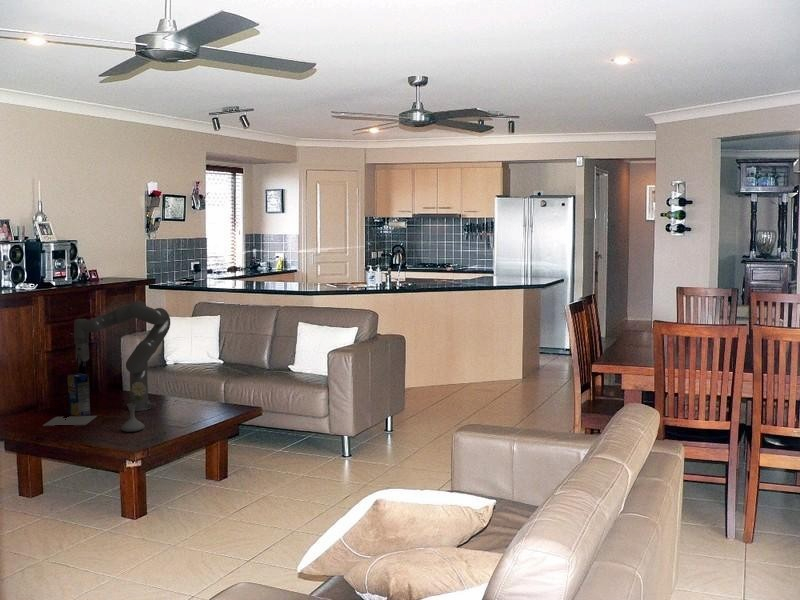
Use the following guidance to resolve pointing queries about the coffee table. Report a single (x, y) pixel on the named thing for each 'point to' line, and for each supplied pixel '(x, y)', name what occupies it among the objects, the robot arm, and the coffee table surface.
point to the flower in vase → (133, 423)
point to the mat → (70, 420)
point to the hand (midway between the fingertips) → (82, 373)
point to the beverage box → (78, 394)
